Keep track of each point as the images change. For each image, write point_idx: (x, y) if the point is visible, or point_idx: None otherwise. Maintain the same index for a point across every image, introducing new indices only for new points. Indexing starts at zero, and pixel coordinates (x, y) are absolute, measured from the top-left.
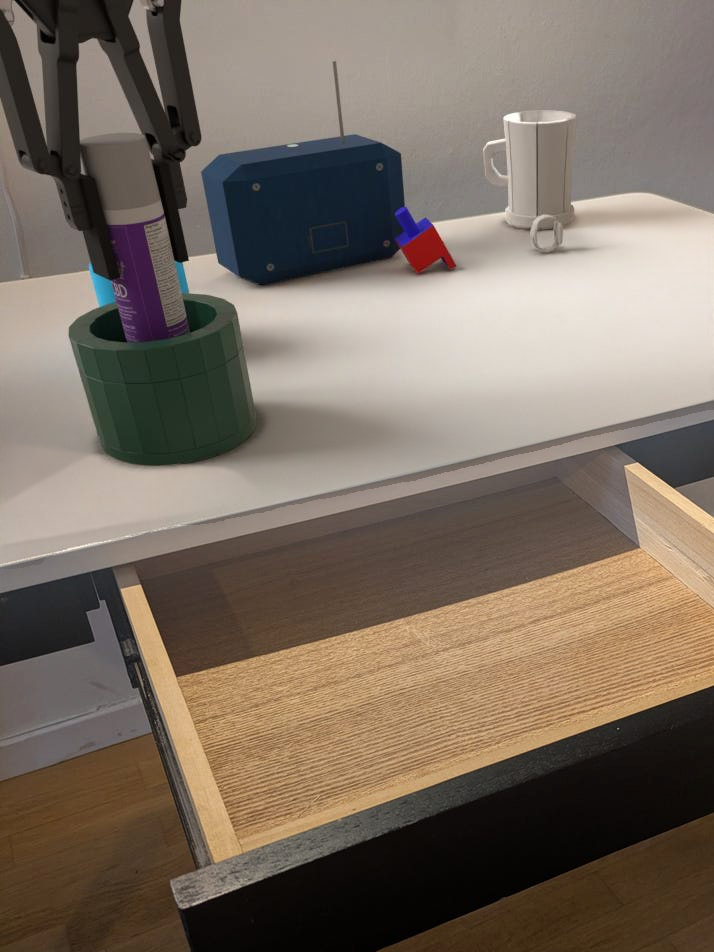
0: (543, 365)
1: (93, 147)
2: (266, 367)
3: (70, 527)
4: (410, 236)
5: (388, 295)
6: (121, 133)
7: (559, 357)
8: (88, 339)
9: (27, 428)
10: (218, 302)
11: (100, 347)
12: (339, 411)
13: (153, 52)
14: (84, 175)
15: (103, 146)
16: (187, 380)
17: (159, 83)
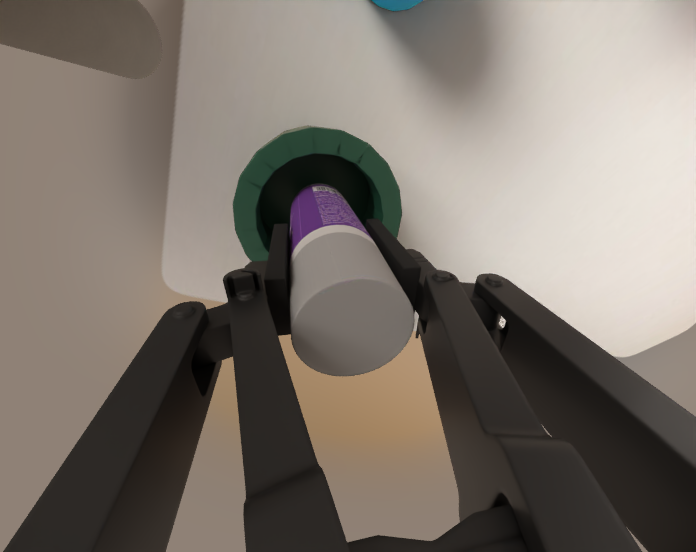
0: (532, 270)
1: (304, 361)
2: (435, 121)
3: (201, 276)
4: None
5: (645, 28)
6: (395, 297)
7: (547, 267)
8: (248, 230)
9: (197, 74)
10: (391, 222)
11: (252, 258)
12: (411, 244)
13: (614, 401)
14: (285, 307)
15: (318, 370)
16: None
17: (546, 342)
